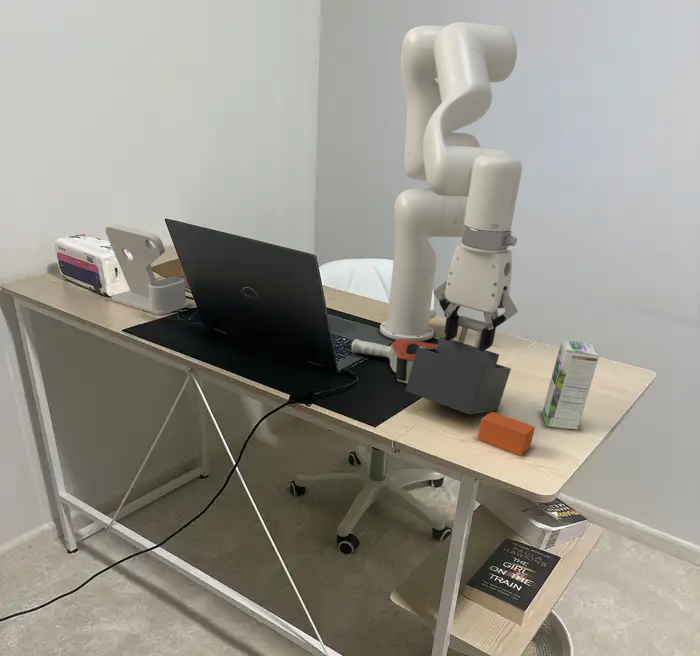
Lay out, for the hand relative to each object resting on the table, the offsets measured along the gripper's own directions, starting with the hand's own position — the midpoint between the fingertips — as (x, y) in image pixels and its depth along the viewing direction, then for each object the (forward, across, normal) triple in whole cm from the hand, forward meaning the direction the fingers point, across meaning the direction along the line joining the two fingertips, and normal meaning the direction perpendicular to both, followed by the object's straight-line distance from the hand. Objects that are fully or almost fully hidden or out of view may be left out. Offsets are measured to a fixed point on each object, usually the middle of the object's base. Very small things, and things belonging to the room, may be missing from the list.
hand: (467, 342), depth 116 cm
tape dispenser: (+13, +18, -8) cm, 23 cm away
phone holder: (+12, +83, +4) cm, 84 cm away
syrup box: (+13, -17, -8) cm, 23 cm away
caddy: (+11, 0, +2) cm, 11 cm away
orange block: (+12, -13, +7) cm, 19 cm away
